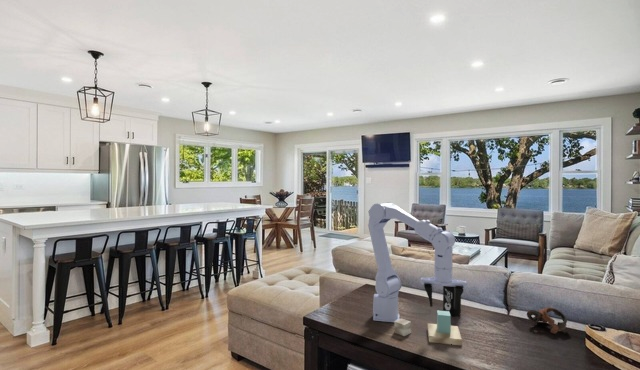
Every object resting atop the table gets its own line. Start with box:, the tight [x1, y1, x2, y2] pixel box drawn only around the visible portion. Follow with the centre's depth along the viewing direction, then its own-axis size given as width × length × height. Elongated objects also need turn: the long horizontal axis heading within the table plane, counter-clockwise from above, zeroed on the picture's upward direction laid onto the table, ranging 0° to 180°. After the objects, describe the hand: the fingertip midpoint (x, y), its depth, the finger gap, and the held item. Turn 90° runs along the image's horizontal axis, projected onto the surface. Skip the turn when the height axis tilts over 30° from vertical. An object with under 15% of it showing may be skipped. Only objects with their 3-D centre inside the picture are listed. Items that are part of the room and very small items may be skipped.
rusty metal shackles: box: [526, 306, 568, 335], centre depth 122 cm, size 12×10×8 cm
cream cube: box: [393, 317, 412, 337], centre depth 119 cm, size 4×4×4 cm
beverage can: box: [442, 286, 462, 317], centre depth 136 cm, size 7×7×12 cm
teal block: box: [436, 310, 452, 334], centre depth 116 cm, size 4×4×6 cm
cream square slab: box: [427, 322, 463, 346], centre depth 116 cm, size 10×10×2 cm
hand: (443, 306), depth 117 cm, fingers open, 7 cm apart
